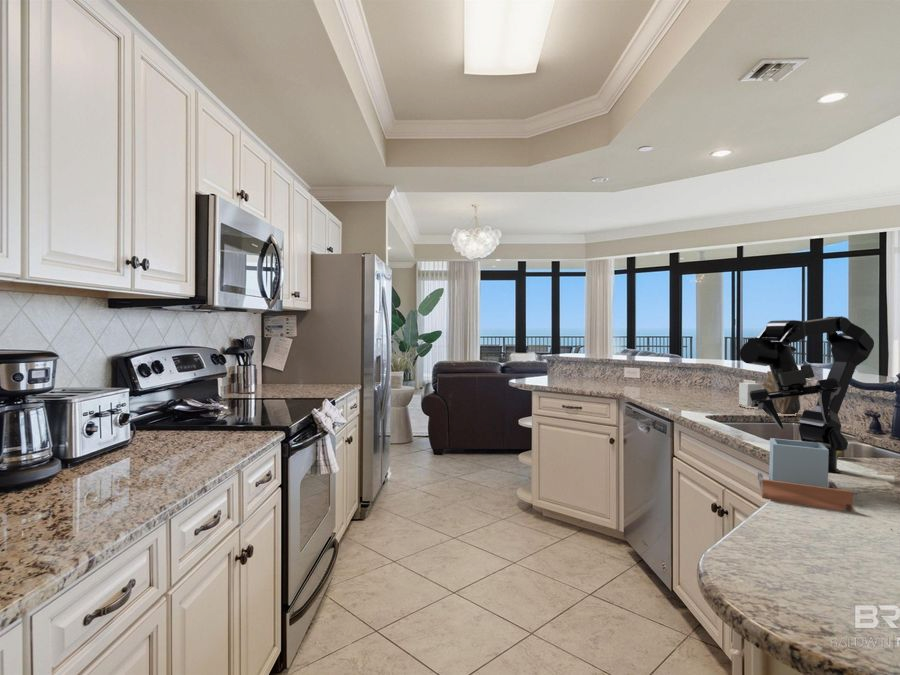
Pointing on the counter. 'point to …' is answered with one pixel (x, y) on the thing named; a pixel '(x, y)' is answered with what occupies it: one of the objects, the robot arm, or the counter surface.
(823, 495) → the brown wooden tray
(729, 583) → the counter surface
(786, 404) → the owl
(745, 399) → the supplement box
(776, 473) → the box
